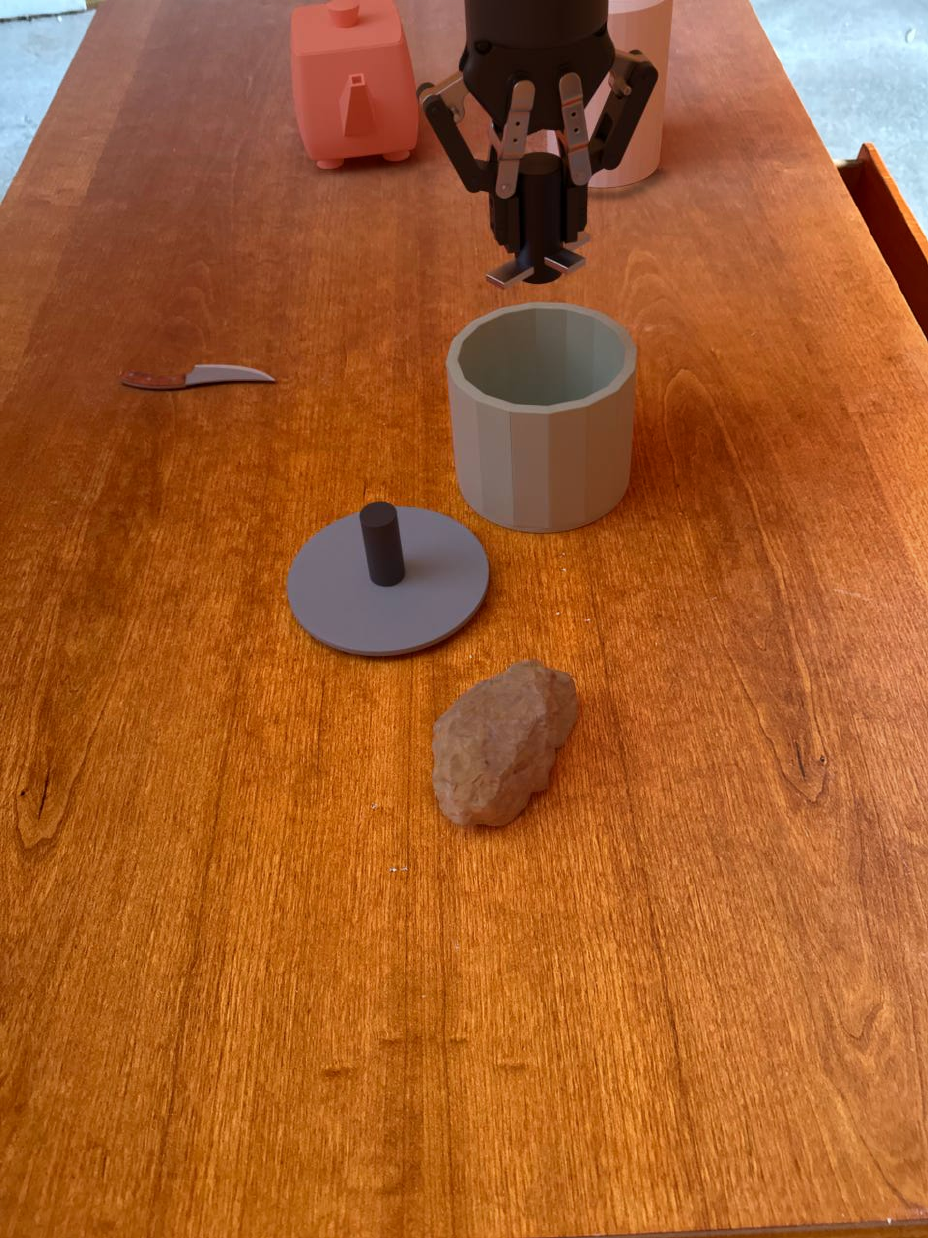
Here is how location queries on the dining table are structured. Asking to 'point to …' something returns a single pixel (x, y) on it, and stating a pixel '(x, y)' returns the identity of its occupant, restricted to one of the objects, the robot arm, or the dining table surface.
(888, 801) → the dining table surface
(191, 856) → the dining table surface
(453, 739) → the stone tool
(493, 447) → the processor bowl
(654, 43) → the bottle
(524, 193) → the blade unit
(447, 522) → the lid
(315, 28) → the teapot
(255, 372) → the knife
